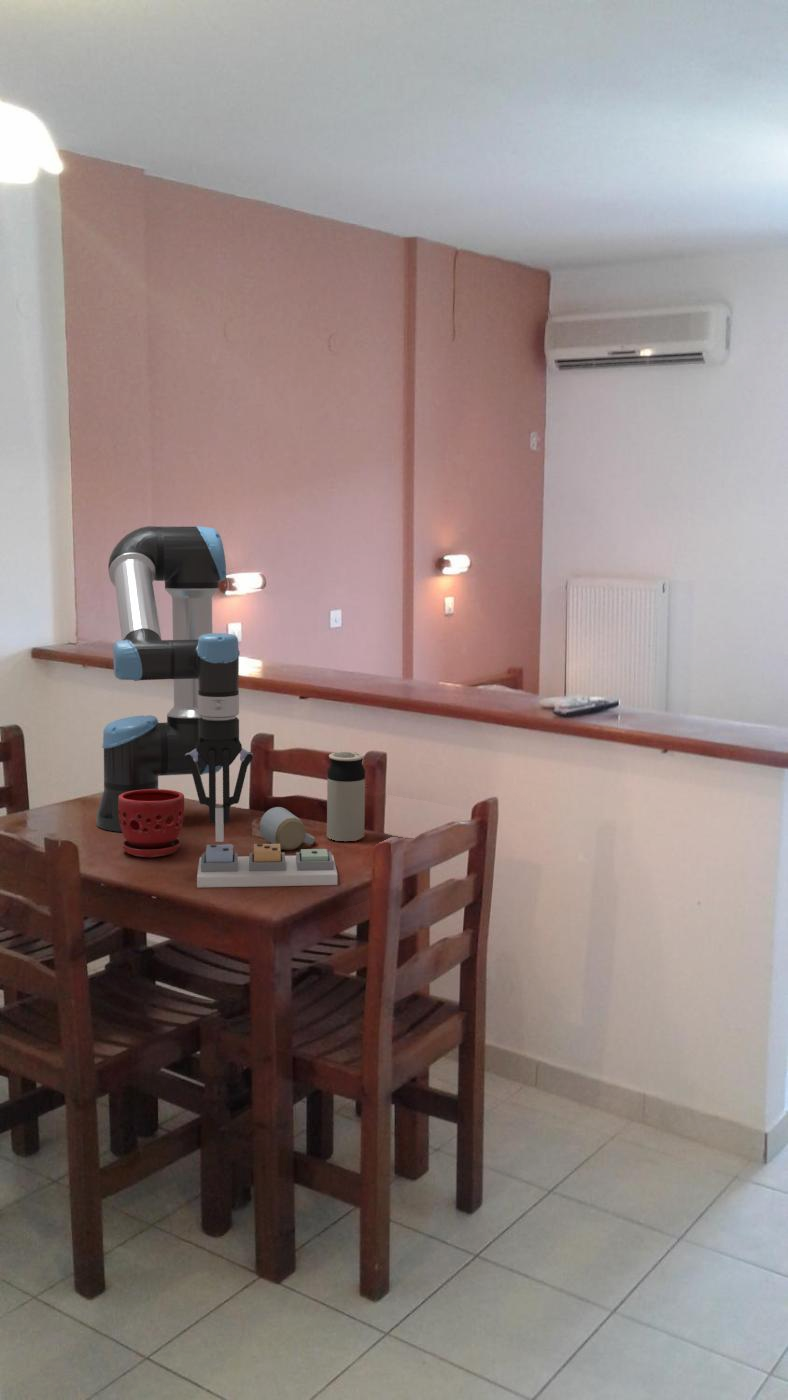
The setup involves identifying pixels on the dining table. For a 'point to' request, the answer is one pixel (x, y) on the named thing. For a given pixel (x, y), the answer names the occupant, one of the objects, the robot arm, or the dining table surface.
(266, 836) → the ceramic mug
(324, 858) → the one dot tile
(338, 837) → the travel mug
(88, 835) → the dining table surface
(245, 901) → the dining table surface
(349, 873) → the dining table surface
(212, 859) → the two dot tile
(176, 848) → the plant pot
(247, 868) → the tile board
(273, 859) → the three dot tile
